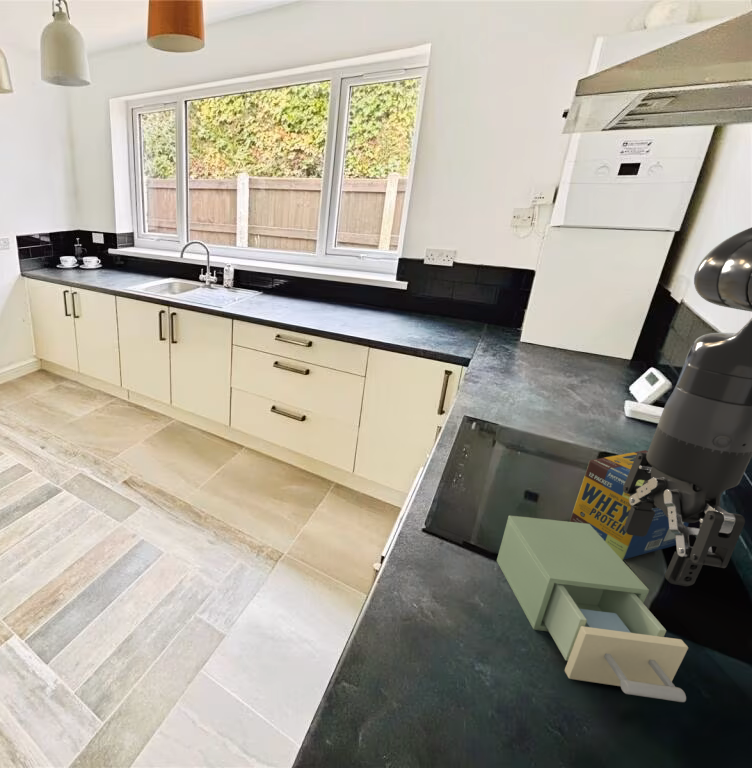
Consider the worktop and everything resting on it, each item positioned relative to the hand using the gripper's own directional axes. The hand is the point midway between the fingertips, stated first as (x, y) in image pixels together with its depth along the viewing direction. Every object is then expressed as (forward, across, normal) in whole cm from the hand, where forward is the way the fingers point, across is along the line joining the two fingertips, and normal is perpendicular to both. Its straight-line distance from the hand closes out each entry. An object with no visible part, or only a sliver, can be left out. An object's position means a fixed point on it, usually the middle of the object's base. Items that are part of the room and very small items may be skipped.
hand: (653, 556), depth 54 cm
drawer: (+19, +2, 0) cm, 19 cm away
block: (+18, +3, 0) cm, 18 cm away
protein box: (+20, +33, -17) cm, 42 cm away
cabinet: (+20, +13, +1) cm, 24 cm away
